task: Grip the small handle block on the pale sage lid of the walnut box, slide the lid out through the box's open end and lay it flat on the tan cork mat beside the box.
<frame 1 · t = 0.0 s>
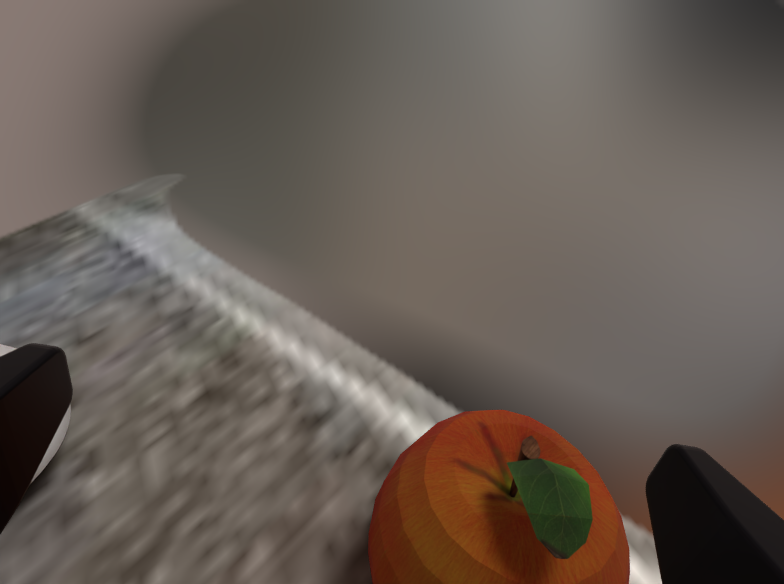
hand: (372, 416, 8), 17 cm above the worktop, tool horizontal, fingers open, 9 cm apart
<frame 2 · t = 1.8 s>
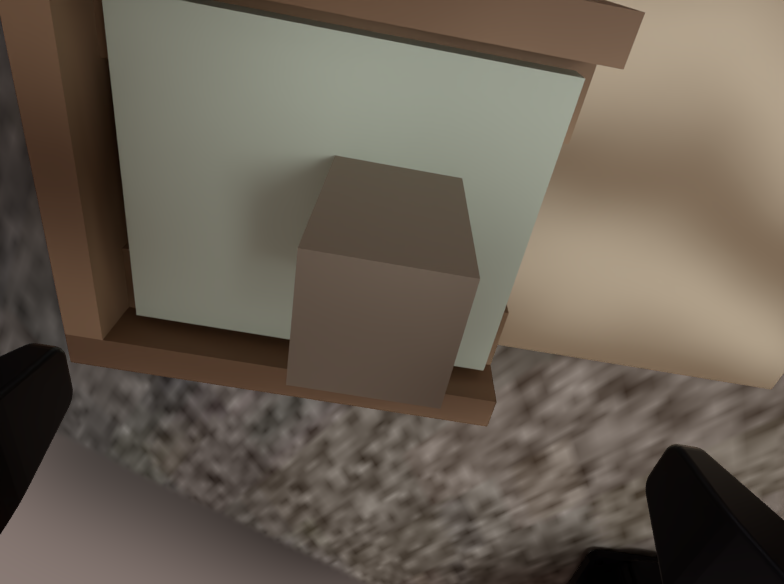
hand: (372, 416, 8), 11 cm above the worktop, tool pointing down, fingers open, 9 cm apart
mat: (701, 212, 18), on the worktop
box: (331, 145, 17), on the worktop
lid: (332, 200, 14), point 4 cm above the worktop, touching box
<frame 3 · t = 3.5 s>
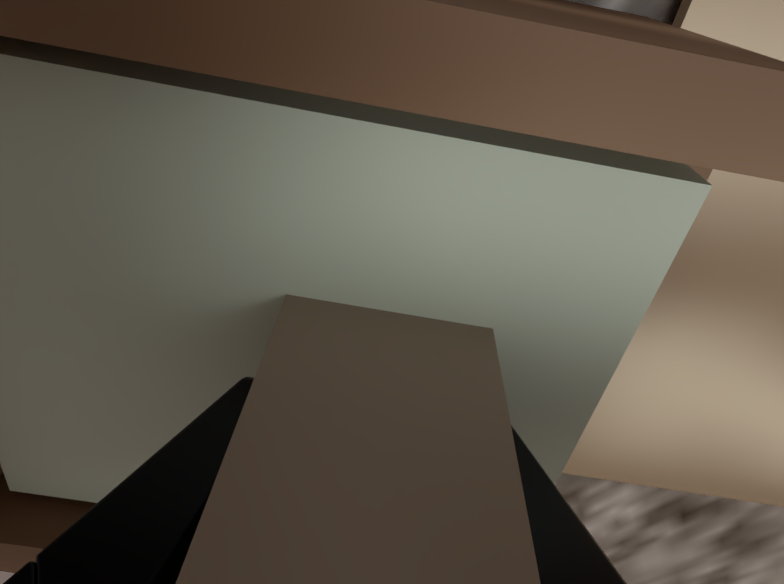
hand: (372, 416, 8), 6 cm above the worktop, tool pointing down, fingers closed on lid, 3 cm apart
box: (301, 226, 13), on the worktop
lid: (290, 341, 9), point 4 cm above the worktop, touching box, gripper
when the fingers open (3 cm above the worktop, at t = 7.4 s): lid stays where it is, resting on mat.
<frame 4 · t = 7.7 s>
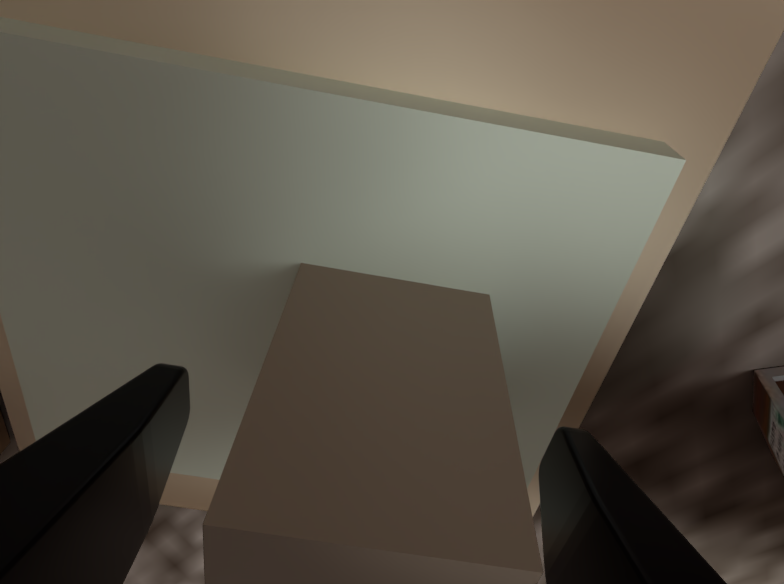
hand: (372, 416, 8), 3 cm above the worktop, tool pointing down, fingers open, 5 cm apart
mat: (300, 297, 10), on the worktop
lid: (302, 311, 10), resting on mat
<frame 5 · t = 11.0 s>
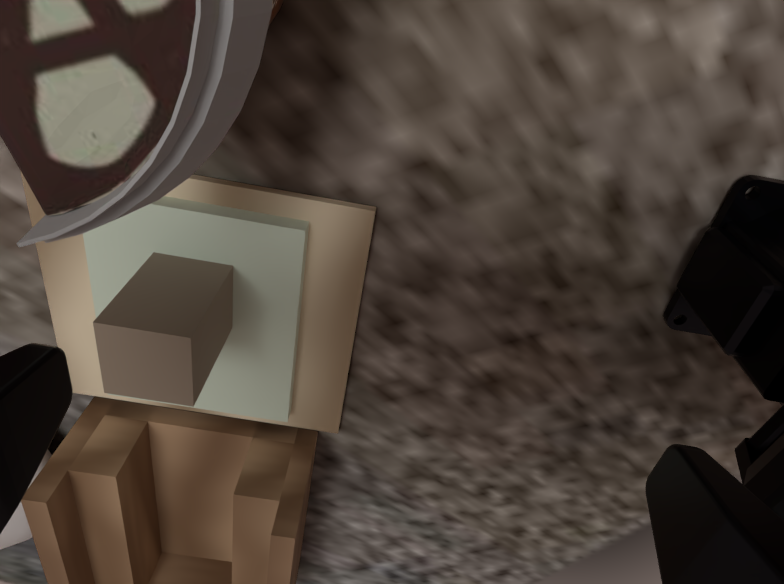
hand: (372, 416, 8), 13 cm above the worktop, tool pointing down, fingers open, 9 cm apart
mat: (205, 307, 23), on the worktop
box: (209, 490, 30), on the worktop
lid: (202, 310, 23), resting on mat
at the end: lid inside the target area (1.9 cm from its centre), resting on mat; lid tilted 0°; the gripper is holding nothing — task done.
